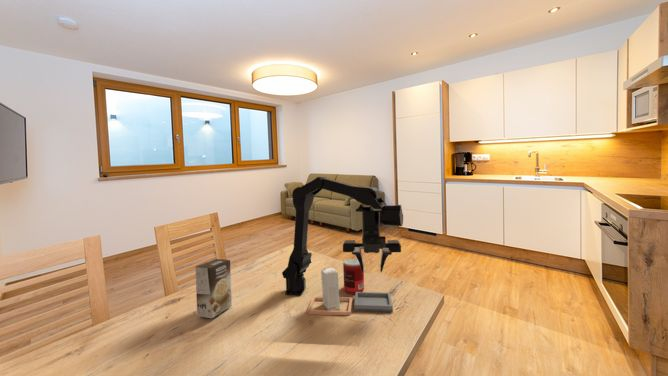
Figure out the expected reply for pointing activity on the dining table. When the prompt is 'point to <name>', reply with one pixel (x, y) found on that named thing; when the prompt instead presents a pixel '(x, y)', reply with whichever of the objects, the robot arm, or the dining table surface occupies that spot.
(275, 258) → the dining table surface
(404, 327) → the dining table surface
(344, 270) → the canned food
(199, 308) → the coffee box
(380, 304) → the tray
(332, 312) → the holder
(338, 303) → the skincare box
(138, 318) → the dining table surface
